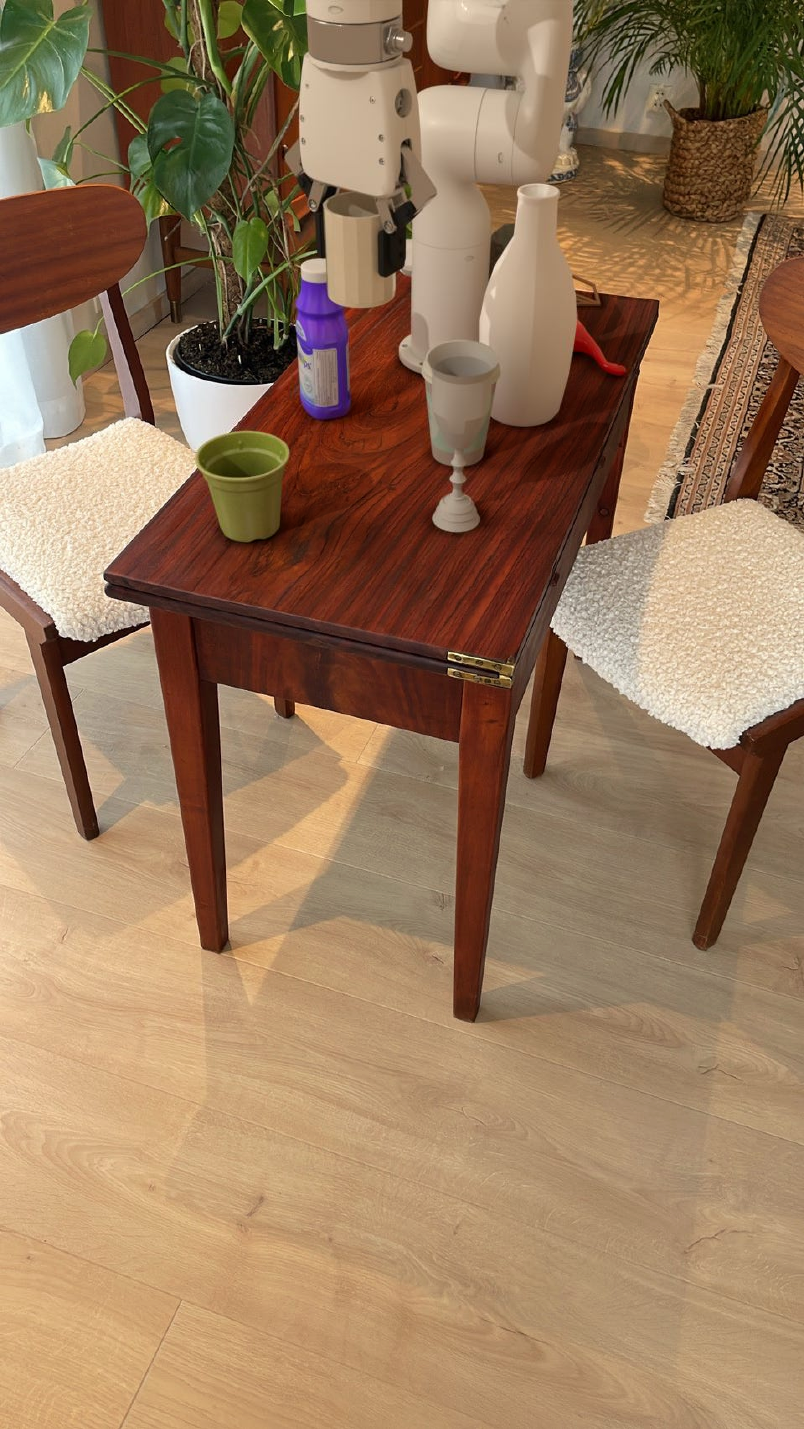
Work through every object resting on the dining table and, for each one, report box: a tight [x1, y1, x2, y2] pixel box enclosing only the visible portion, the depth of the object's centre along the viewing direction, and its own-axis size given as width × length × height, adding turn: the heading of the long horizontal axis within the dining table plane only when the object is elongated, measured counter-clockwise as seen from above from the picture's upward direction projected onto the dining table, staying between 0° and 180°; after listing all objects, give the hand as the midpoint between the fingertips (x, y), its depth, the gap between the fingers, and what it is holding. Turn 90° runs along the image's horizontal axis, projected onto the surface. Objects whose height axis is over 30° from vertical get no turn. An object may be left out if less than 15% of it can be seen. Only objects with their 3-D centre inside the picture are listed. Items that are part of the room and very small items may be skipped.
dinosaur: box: [572, 313, 627, 377], centre depth 149 cm, size 4×15×12 cm
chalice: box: [427, 342, 498, 533], centre depth 116 cm, size 7×7×18 cm
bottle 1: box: [295, 258, 352, 421], centre depth 134 cm, size 7×6×17 cm
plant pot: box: [194, 430, 290, 543], centre depth 118 cm, size 9×9×9 cm
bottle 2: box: [479, 183, 578, 428], centre depth 131 cm, size 11×11×25 cm
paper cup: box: [323, 191, 397, 309], centre depth 104 cm, size 6×6×8 cm
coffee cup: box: [421, 340, 501, 467], centre depth 128 cm, size 8×8×12 cm
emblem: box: [572, 274, 602, 307], centre depth 164 cm, size 12×10×1 cm
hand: (360, 260), depth 104 cm, fingers closed on paper cup, 6 cm apart
